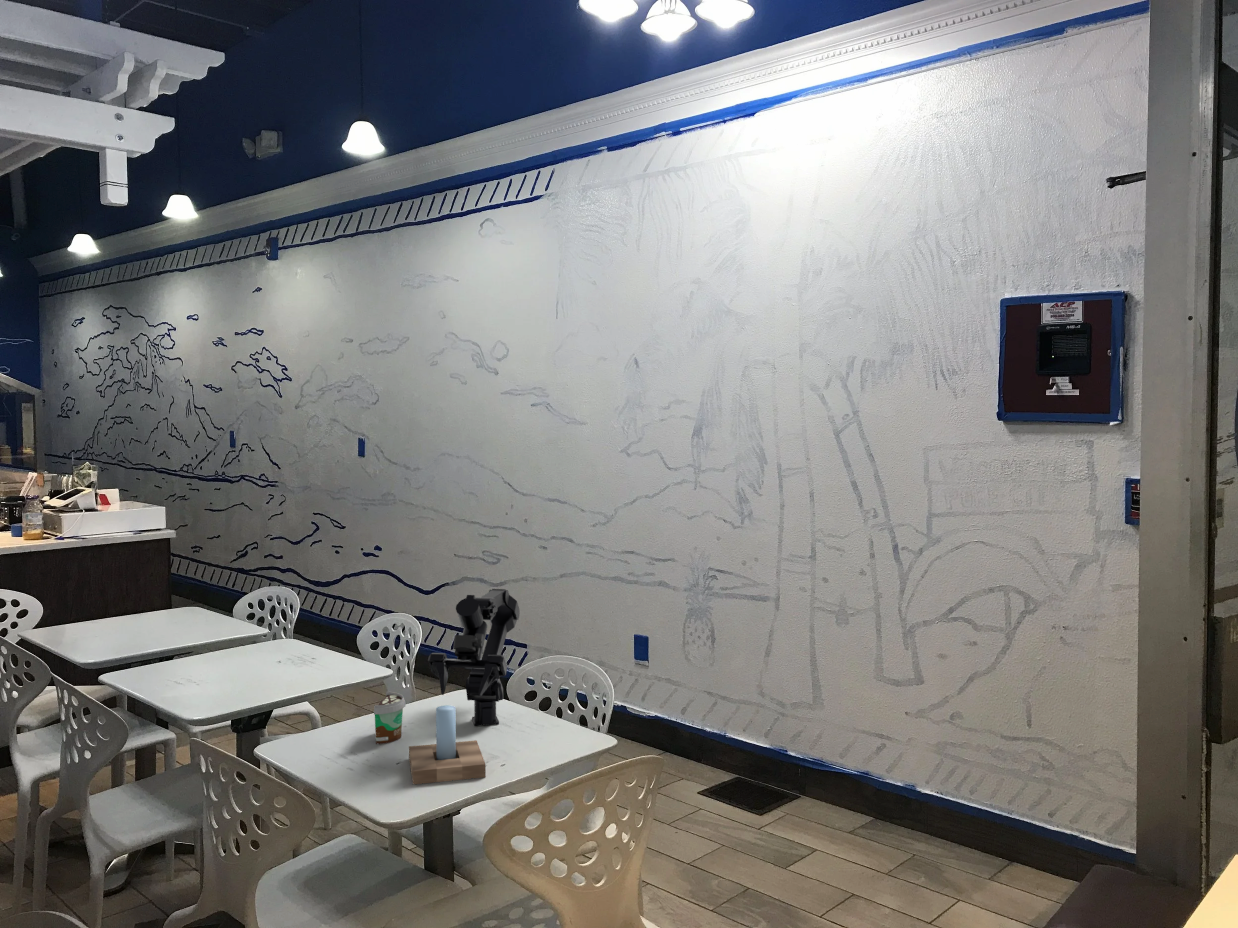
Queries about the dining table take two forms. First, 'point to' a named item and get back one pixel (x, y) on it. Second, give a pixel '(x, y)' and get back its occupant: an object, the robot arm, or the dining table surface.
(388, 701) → the food container
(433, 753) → the pocket block
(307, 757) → the dining table surface
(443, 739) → the peg
